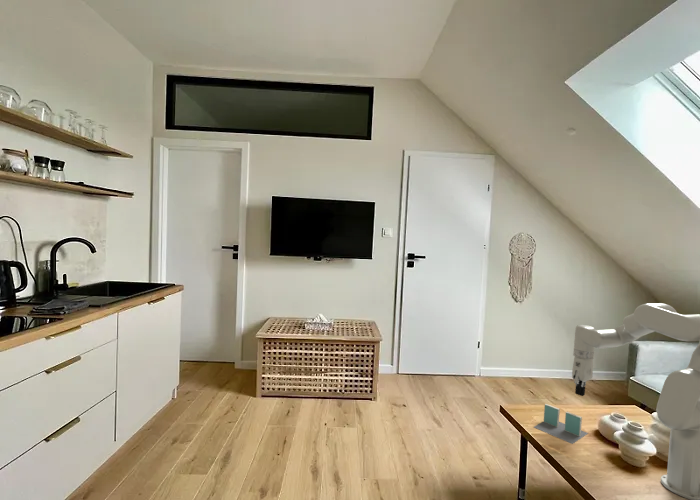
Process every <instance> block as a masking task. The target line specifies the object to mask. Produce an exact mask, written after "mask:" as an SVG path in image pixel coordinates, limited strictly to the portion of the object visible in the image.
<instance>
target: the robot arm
mask: <svg viewBox="0 0 700 500" xmlns="http://www.w3.org/2000/svg"><path fill="white" fill-rule="evenodd" d="M651 333H657V334H661V335H664V336H666V337H669V338H672V339H675V340H678V341H683V342H696V341H699V342H698V344H697V346H696V347H695V349H694V351H693V352H692V354H691V357H690V361H689V363H688V365H687V367H686V368H685V369H677V370H674V371H672V372H670V374H668V375H667V376H666V378H665V379H664V383H663V385H662V388H661V392H660V394H659V397H658V400H657V403H656V408H655V409H656V415H657V418H658V419H659V421H660V423H661V424H662V425H664V426H665V427H667V428H668V429H670V433H669V443H668V446H669V447H668V457H667V468H666V470H667V471H666V474H663V475H661V476H660V483H661V484H662V485H663V486H664V488H666V489H668V490H669V491H670V492H672V493H673V494H676V495H678V496H680V497H683V498H685V499H687V500H700V314H699V313H698V314H697V313H696V314H681V313H678V311H677V310H676V309H675V308H674V307H673V306H672V305H669V304H666V303H662V302H659V303H650V302H649V303H643V304H640V305H638V306H637V307H636V308H635V309H634V311H633V313H631V314H629V315H626V316H625V317H623V320H622V324H621V325H618V326H615V327H614V328H609V329H608V328H607V329H596V328H595V327H593V326H591V325H588V324H587V325H586V324H578V325H576V326H575V331H574V341H573V343H574V345H573V353H572V356H573V357H574V358H573V363H572V373H571V377H572V379H573V380H574V382H573V383H574V384H575V391H574V392H575V394H576V395H578V396H581V397H584V396H585V393H586V385H587V381H590V380H592V379H593V372H594V362H593V361H594V357H595V356H594V355H595V349H608V348H609V349H610V348H617V347H621V346H625V345H627V344H630V343H633V342H635V341H637V340H638V339H640V338H642V337H643V336H646V335H648V334H651ZM575 394H574V395H575Z"/></svg>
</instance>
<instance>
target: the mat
mask: <svg viewBox="0 0 700 500" xmlns="http://www.w3.org/2000/svg"><path fill="white" fill-rule="evenodd" d="M533 428H534V429H537V430H539V431H541V432H543V433H546V434H548V435H551V436H552V437H555V438H556V439H557V438H558V439H559V440H562V441H565V442H566V443H569V444H571V445H573V444H575V443H577V442H578V441H580V440H581V439H582V438H584V437H586V436H587V435H588V434H589V432H586V431H584V430H582V429H581V436H577V435H575V434H572V433H570V432H567V431H565V422H561V421H559V427H555V426H553V425H551V424H548V423H546V422H544V421H542V422H540V423H537V424H536V425H535V426H533Z"/></svg>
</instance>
